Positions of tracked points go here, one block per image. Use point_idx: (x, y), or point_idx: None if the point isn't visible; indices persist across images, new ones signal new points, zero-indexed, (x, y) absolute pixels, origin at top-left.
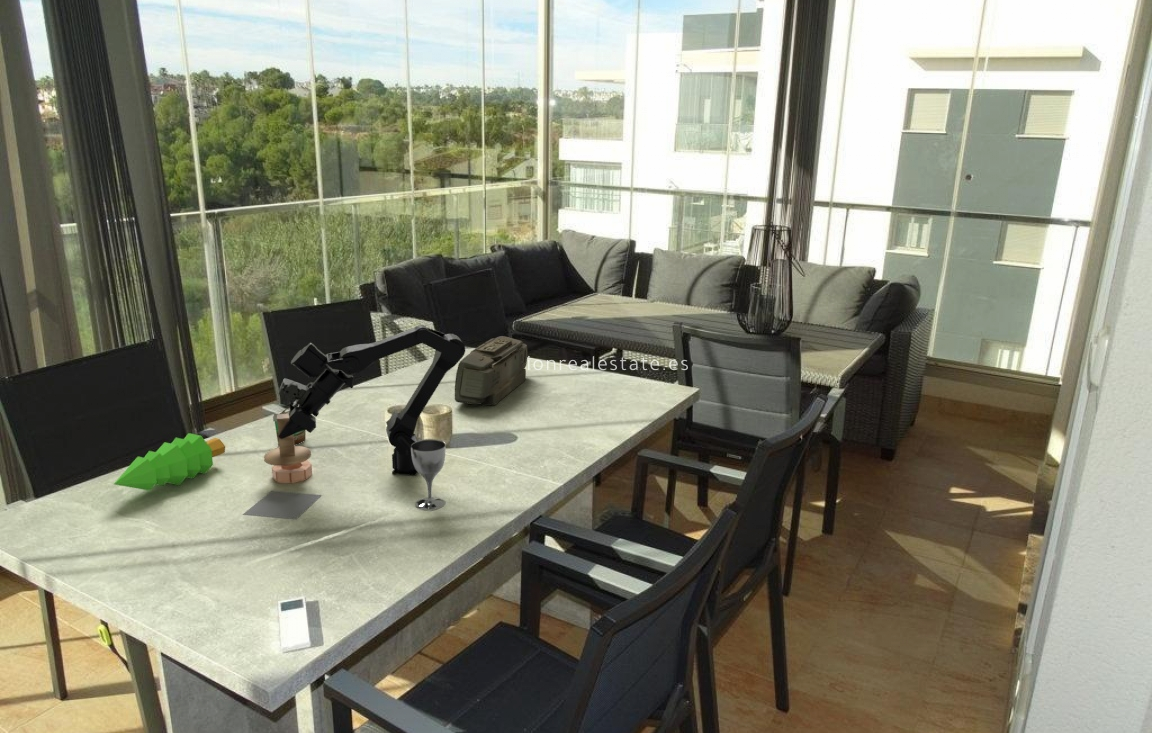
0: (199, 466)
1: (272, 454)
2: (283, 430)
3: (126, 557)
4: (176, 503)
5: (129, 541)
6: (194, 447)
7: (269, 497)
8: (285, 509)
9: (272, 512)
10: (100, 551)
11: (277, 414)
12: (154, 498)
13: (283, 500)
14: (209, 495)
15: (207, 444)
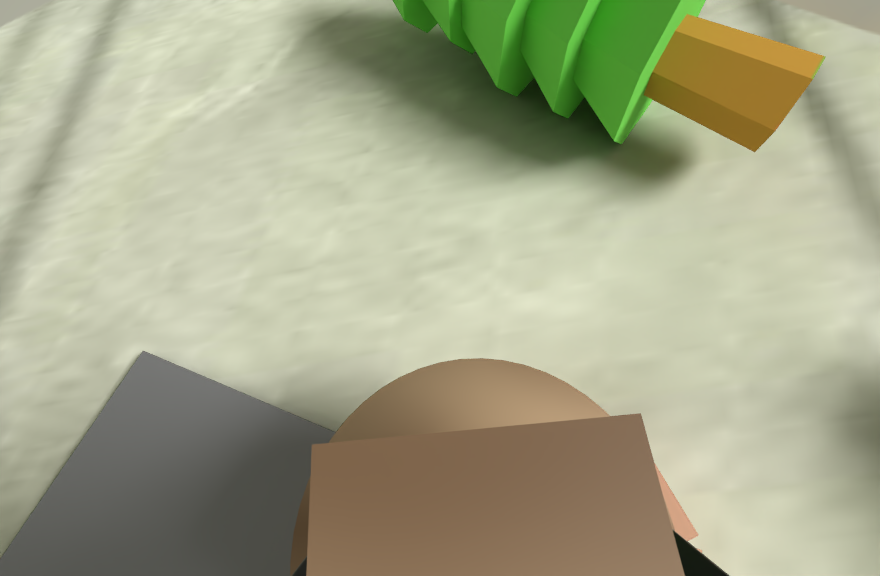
0: (553, 97)
1: (490, 414)
2: (304, 571)
3: (36, 102)
4: (359, 123)
5: (133, 84)
6: (622, 7)
7: (278, 443)
8: (100, 549)
9: (98, 482)
10: (108, 46)
11: (639, 420)
12: (416, 63)
13: (215, 524)
14: (402, 200)
15: (656, 40)
